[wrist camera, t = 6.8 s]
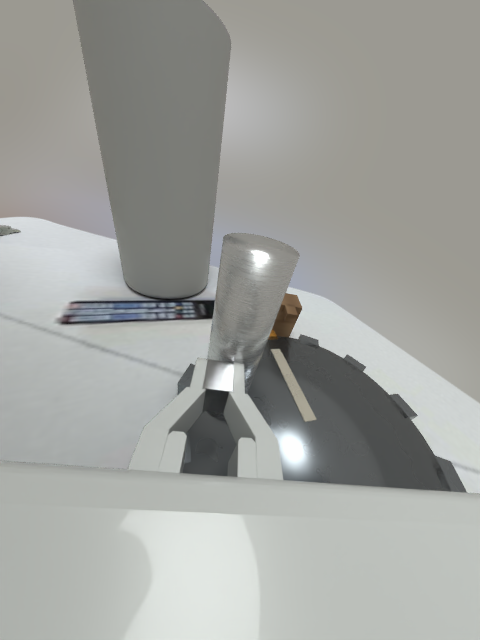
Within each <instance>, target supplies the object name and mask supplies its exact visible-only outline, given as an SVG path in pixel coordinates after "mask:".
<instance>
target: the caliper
mask: <svg viewBox="0 0 480 640" xmlns="http://www.w3.org/2000/svg"><path fill="white" fill-rule="evenodd" d="M13 232H21V231H19V230H17V229H12V228H11V227H10V226H6V225H0V236H3V235H9V234H13Z"/></svg>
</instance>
